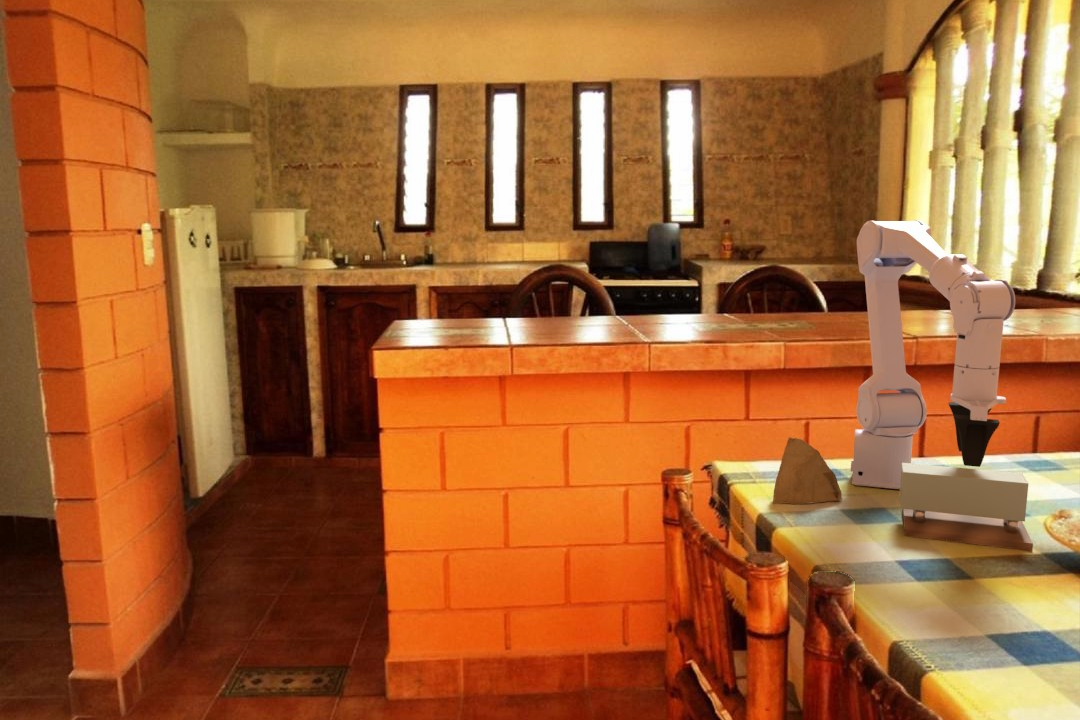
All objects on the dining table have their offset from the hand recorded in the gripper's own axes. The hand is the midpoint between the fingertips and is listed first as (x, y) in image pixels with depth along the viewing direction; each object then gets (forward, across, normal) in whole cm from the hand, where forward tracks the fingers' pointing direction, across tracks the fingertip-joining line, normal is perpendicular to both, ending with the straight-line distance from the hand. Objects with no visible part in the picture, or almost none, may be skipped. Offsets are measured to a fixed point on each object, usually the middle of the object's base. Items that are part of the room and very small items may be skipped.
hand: (969, 458), depth 126 cm
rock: (+11, +4, +22) cm, 25 cm away
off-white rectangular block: (+7, -1, +1) cm, 7 cm away
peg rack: (+10, -2, 0) cm, 10 cm away
